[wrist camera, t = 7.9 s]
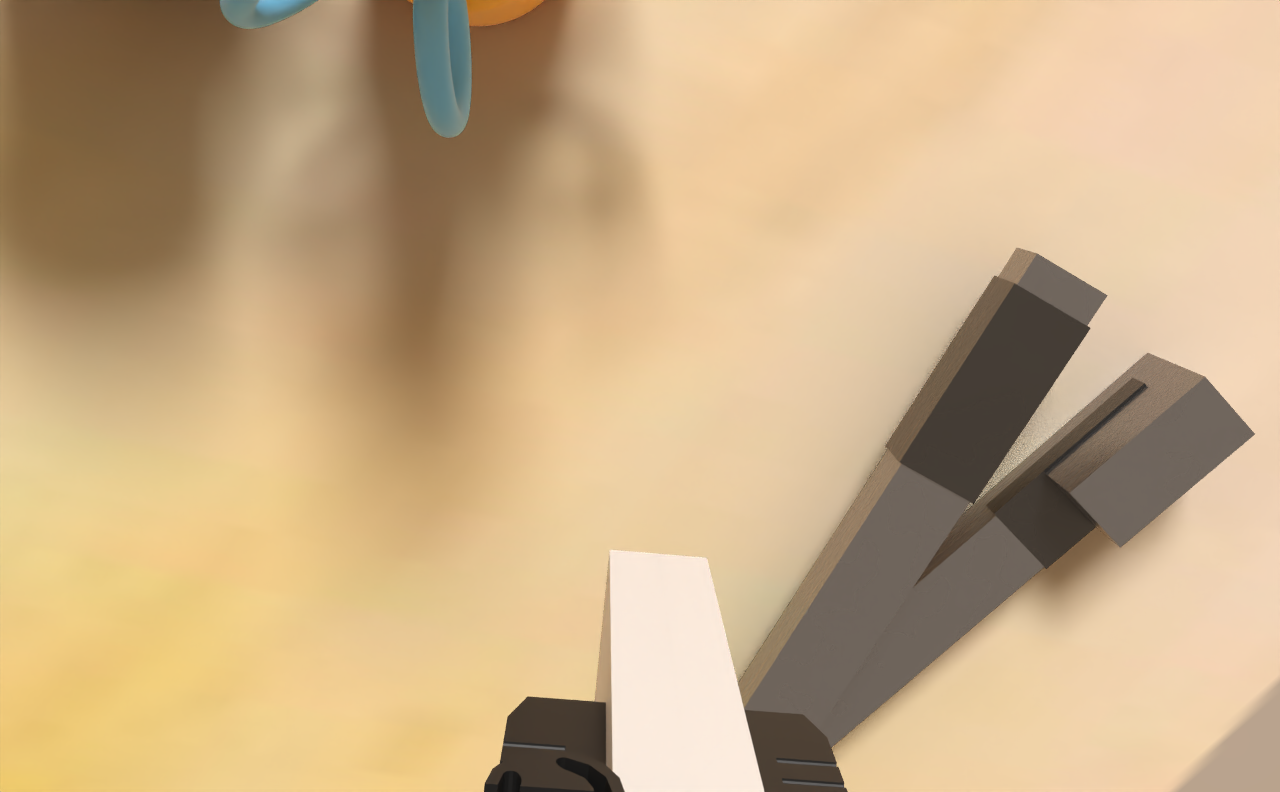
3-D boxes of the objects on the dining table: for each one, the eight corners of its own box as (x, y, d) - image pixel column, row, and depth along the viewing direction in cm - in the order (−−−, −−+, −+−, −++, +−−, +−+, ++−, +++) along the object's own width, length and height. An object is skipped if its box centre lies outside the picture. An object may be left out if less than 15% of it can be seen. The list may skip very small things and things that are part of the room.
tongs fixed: (674, 855, 39) (679, 932, 35) (619, 806, 38) (618, 878, 34) (1197, 409, 35) (1264, 441, 31) (1143, 348, 34) (1206, 374, 31)
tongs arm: (742, 809, 36) (747, 842, 34) (674, 776, 36) (676, 807, 34) (1086, 289, 32) (1110, 297, 30) (1013, 245, 32) (1034, 251, 30)
